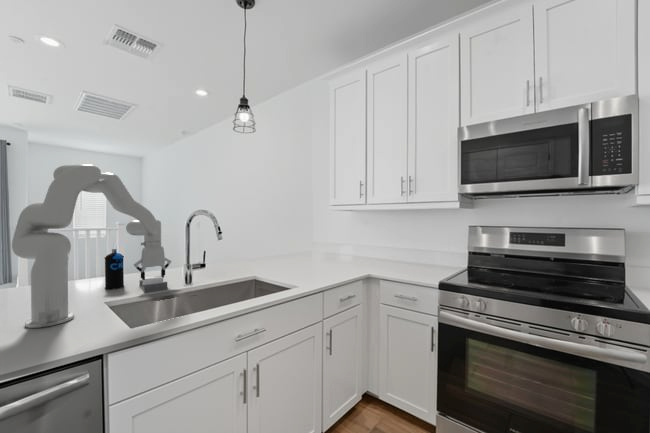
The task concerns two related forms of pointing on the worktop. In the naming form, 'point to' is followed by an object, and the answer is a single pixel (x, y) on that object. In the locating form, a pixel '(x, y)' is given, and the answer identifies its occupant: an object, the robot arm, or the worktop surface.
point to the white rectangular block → (152, 280)
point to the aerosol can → (114, 271)
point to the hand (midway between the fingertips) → (153, 278)
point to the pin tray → (153, 286)
